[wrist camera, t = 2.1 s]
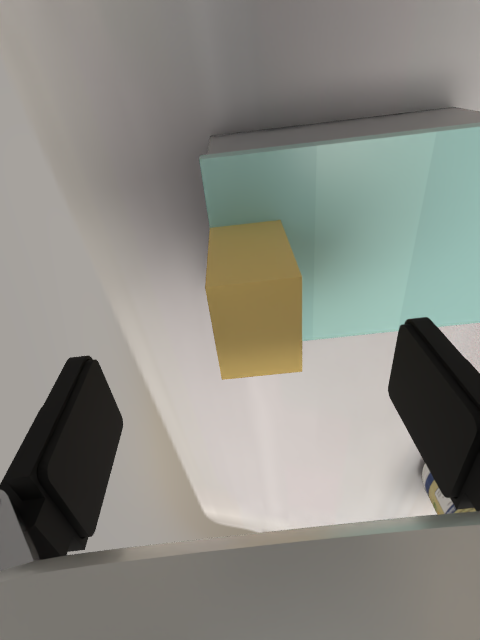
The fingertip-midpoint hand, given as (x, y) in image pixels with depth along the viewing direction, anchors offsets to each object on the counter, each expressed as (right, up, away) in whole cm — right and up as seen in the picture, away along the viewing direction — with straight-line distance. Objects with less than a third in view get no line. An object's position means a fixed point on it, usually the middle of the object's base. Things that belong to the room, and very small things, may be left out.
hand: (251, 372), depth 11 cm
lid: (+5, +5, +5) cm, 9 cm away
